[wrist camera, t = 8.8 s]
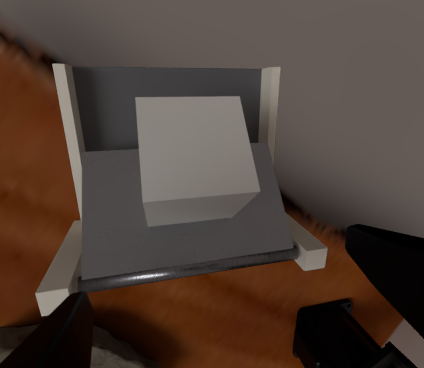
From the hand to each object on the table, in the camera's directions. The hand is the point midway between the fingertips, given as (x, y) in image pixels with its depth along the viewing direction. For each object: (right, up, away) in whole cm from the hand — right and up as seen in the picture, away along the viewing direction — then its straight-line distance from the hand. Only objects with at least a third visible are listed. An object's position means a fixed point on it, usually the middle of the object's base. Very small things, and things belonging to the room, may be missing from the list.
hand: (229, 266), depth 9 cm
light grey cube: (-2, +3, +8) cm, 8 cm away
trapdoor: (-2, +1, +8) cm, 8 cm away
